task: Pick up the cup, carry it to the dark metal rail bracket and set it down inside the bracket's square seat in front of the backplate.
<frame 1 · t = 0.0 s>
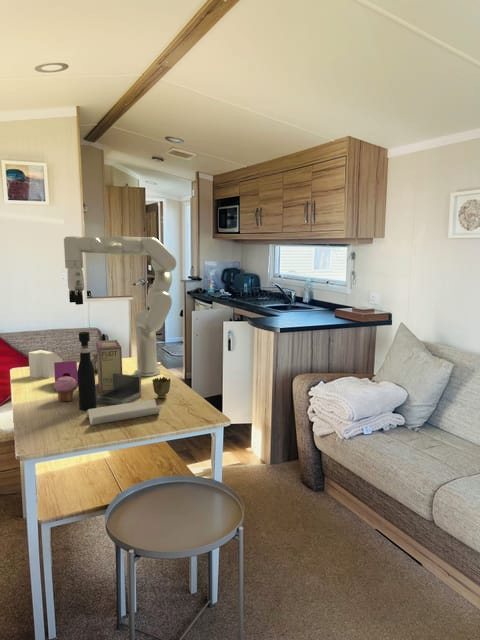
hand: (76, 303, 216), 37 cm above the table, tool pointing down, fingers open, 9 cm apart
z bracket: (124, 418, 178), on the table
box: (110, 388, 215), on the table
corner bracket: (47, 375, 236), on the table
cup: (162, 398, 201), on the table
wine bottle: (88, 408, 188), on the table
cupcake: (66, 400, 198), on the table
mounting bracket: (67, 387, 218), on the table
rail bracket: (118, 400, 198), on the table
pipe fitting: (99, 371, 245), on the table
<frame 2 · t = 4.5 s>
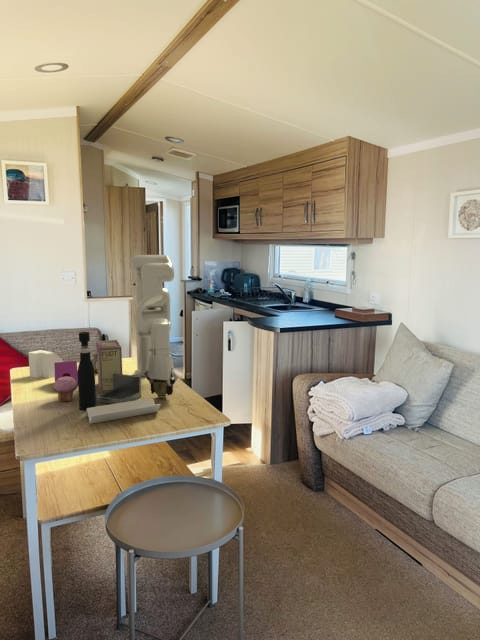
hand: (161, 393, 200), 2 cm above the table, tool pointing down, fingers closed on cup, 7 cm apart
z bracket: (123, 416, 180), on the table
cup: (162, 398, 201), on the table, touching gripper
everything else where it was.
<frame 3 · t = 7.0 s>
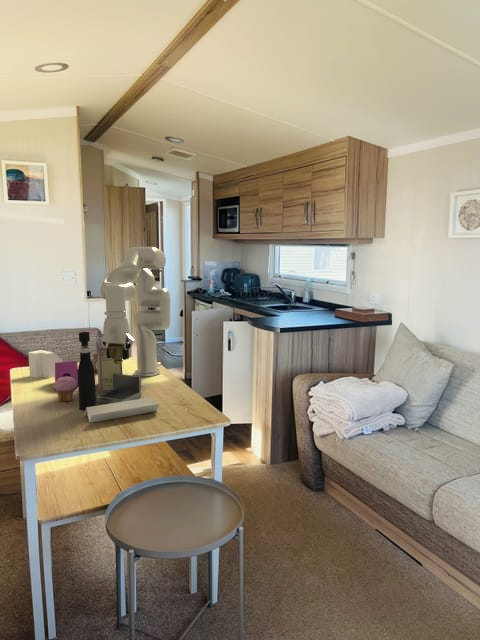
hand: (118, 358, 195), 18 cm above the table, tool pointing down, fingers closed on cup, 7 cm apart
cup: (118, 363, 196), point 15 cm above the table, touching gripper
when the fingers open (4 cm above the table, at t = 9.5 s): cup drops 1 cm, resting on rail bracket.
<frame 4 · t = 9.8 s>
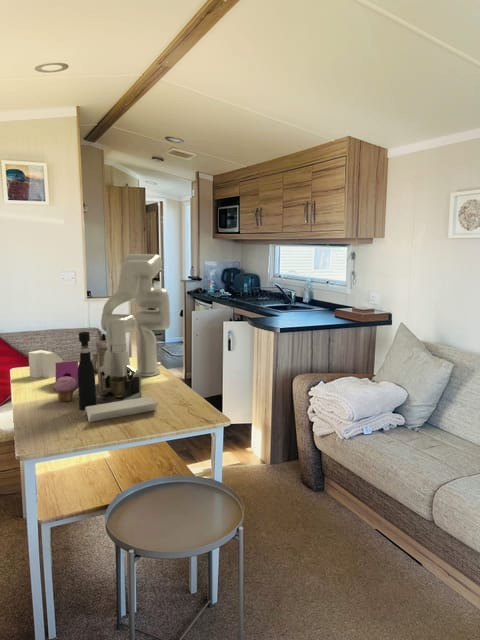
hand: (118, 388, 197), 5 cm above the table, tool pointing down, fingers open, 9 cm apart
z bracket: (121, 415, 182), on the table
cup: (118, 397, 198), point 1 cm above the table, touching rail bracket
everything else where it was.
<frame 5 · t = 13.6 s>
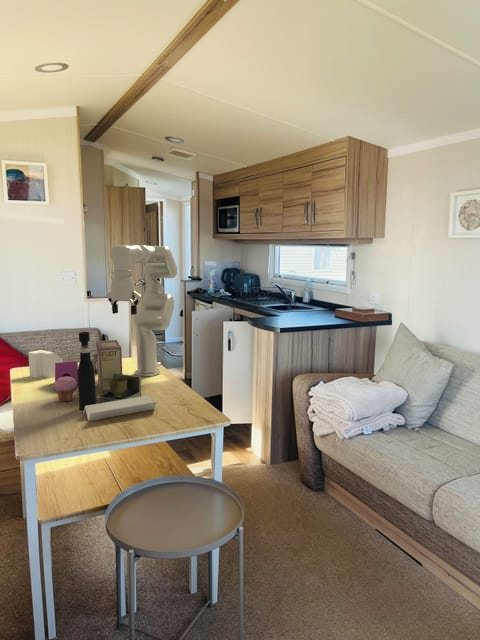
hand: (124, 313, 210), 33 cm above the table, tool pointing down, fingers open, 9 cm apart
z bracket: (120, 414, 183), on the table
everything else where it was.
at the end: cup inside the target area on the rail bracket (0.2 cm from its centre), point 0.8 cm above the rail bracket's base; cup tilted 0°; the gripper is holding nothing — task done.
